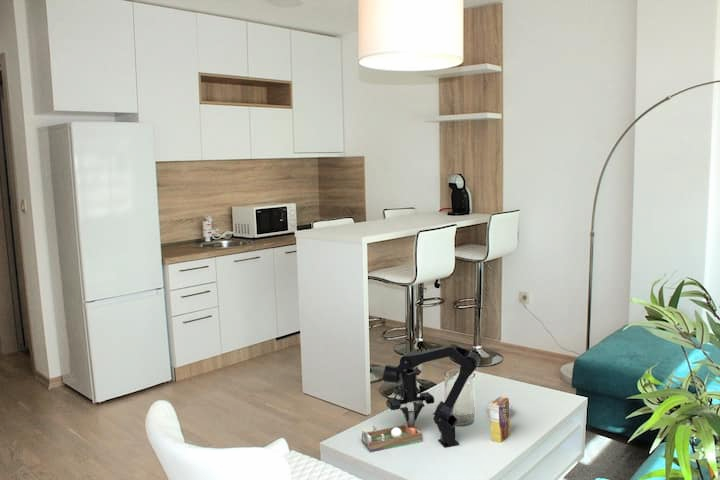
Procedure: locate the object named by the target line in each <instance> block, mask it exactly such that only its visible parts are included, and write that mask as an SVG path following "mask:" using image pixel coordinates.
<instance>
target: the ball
mask: <svg viewBox="0 0 720 480" xmlns="http://www.w3.org/2000/svg"><path fill="white" fill-rule="evenodd" d="M395 427H396V428H393V429H392V431H391V436H392V437H393V438H395V437H400V436H402V431H401V429H399V428H397V427H398V426H395Z"/></svg>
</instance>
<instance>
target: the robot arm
mask: <svg viewBox="0 0 720 480" xmlns="http://www.w3.org/2000/svg"><path fill="white" fill-rule="evenodd" d="M448 357H450V358H451V359H452V360H453V361H454V362H455V363H457V365H460V367H459V371H458V372H459V373H458V375H457V377H456V380H455V381H454V383H453V385H452V387H451V389H450V391H449V393H448V395H447V396H446V399H445V401H444V402H443V401H442V400H441V401H440V402H438V404H437V406H436V409H435V410H434V412H433V413H432V416H433V423H435V425H436V426H437V428H438V432H440V438H438V439H437V442H438V443H439V444H440V445H441V446H442V447H444V448H448V447H454V446H457V445H459V446H460V442H459V441H458V440H457V439H456V437H457V436H456V434H457V433H456V425H457V423H458V421H459V420H458V418H456V416H455V415H454V414H453V412H454V410H455V409H454V408H455V405H456V403H457V400H458V398H460V397H459V396H460V394H461V393H462V391H463V389H464V387H465V385H466V383H467V381H468V380H469V378H470V376H471V375H472V374H473V373H474V372H475V370H476V369H477V368H478V366H479V364H480V363H481V358H480V355H479V354H478V353H477V352H475V351H470V350H469V349H466V348H463V347H460V346H458V345H457V344H454V343H450V344H448V345H445V346H444V345H443V346H440V347H435V348H432V349H429V350H424V351H417V350H416V351H415V350H414V351H412V350H411V351H407V352H406V353H405V354H404V355H402V356H401V357H400V359H399V364H398V365H389V364H386V365H385V366H384V370H383V375H382V380H383V382H384V383H390V384H391V383H393V384H399V383H400V382H401V383H402V384H401V387H399V385H397V386H393V394H394V395H395V396H396V395H398V397H400V398H401V399H398V398H396V397H391V398H388V399H387V400H386V402H385V403H386V407H387V408H388V409H389V410H390V411H397V410H400V411H401V412H402V415H403V417H404V419H405V422H406V423H407V422H408V411H409V408H408V407H407V405H408V404H413V411H414V414H415V422H416V421H417V419H418V417H419V415H420V413H421V411H422V409H423V408H424V407H425V404H424V402H425V403H426V404H427V405H429V404H430V405H431V404H434V403H435V397H434V395H432V394H431V393H430V392H428V391H426V392H425V391H424V392H421V393H419V396H418V391H419V387H418V385H417V382H418V381H417V376H419V375H421V373H422V370H420V369H419V367H418V366H420V365H422V364H424V363H428V362H433V361H435V360H441V359H444V358H448Z"/></svg>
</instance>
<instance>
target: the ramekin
mask: <svg viewBox="0 0 720 480" xmlns="http://www.w3.org/2000/svg"><path fill="white" fill-rule="evenodd" d="M495 400H496V399H494V400H489V401H487V402H485V409H486V415H487V416H488V417H489V419H491V417H490V403H492V402H493V401H495ZM512 409H513V404H512V403H511V402H509V417H510V418H511V414H512Z"/></svg>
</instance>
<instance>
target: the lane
mask: <svg viewBox="0 0 720 480" xmlns="http://www.w3.org/2000/svg"><path fill="white" fill-rule="evenodd" d="M372 426H373V427H372V428H373V430H372V431H367V430H366V428H363V429H362V431H361V442H362V444H363V445H364V446H365V448H366V449H367V450H368V451H369V453H374V452H380V451H383V450H389V449H393V448H398V447H403V446H404V447H405V446H409V445H414V444H419V443H422V442H423V433H422V432H421V431H420V429H419V428H417V427H416V426H415V427H414V429H415V433H416V434H411V435H408V434H407V433H406V432H405V424H403V425H399V426H393V427H387V428H383V429H377V425H376V424H373V425H372ZM396 427H397V428H399V429H401V431H402V436H400V437H395V438H393V437H392V436H391V431H392V429H393V428H396Z"/></svg>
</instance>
